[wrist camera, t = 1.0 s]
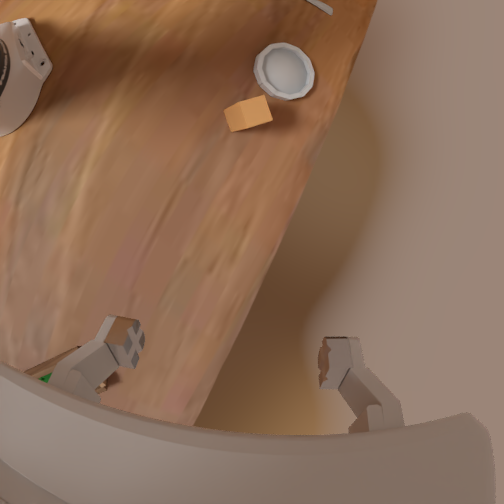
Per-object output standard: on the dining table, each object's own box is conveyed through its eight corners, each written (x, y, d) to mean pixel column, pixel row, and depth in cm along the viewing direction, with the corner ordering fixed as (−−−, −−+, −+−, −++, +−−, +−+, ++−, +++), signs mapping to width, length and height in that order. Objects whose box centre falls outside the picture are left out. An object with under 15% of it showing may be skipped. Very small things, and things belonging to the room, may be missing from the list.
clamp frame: (23, 372, 41) (20, 380, 39) (79, 345, 45) (77, 354, 42) (52, 402, 46) (51, 411, 43) (109, 379, 49) (109, 389, 47)
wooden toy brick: (223, 110, 42) (238, 102, 35) (245, 103, 43) (264, 94, 36) (231, 132, 44) (248, 128, 37) (252, 124, 44) (272, 120, 37)
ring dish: (245, 50, 39) (249, 47, 38) (298, 42, 42) (302, 40, 40) (266, 106, 44) (270, 104, 43) (316, 93, 46) (321, 92, 45)
